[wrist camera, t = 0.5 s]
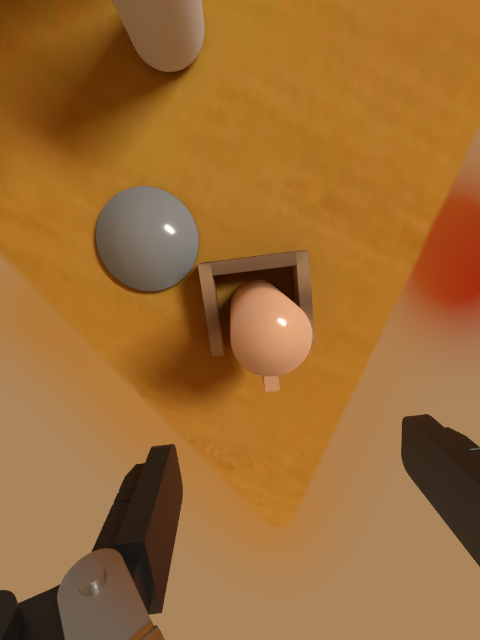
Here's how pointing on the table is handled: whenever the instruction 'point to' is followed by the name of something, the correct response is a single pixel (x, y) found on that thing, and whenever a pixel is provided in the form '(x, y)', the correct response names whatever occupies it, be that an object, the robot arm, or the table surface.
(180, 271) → the grey dome disc
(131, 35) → the beverage can
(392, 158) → the table surface
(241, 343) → the peach cylinder with handle
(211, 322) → the wooden u-shaped frame
